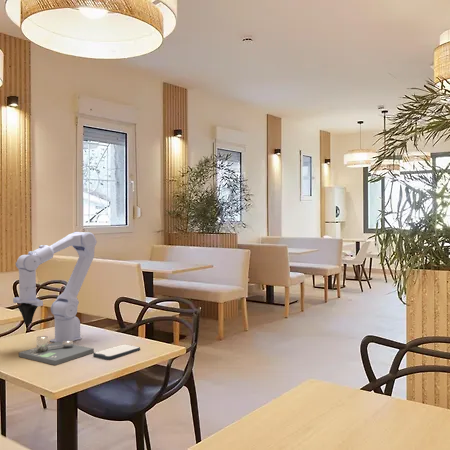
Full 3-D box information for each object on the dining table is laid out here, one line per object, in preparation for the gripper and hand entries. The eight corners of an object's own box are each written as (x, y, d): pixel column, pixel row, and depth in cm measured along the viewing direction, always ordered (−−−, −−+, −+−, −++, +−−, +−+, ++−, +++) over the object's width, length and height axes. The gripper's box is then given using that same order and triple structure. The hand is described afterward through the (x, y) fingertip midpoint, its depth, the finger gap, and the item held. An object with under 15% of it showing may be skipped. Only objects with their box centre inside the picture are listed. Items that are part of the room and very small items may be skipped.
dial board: (58, 345, 186) (58, 341, 186) (93, 352, 176) (93, 348, 176) (18, 356, 171) (18, 352, 171) (55, 365, 161) (55, 360, 161)
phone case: (124, 347, 185) (91, 357, 171) (124, 343, 185) (91, 352, 171) (141, 351, 180) (109, 361, 166) (141, 347, 180) (109, 357, 166)
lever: (71, 344, 180) (71, 331, 180) (74, 346, 177) (74, 333, 177) (29, 350, 172) (29, 337, 172) (32, 353, 169) (32, 339, 169)
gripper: (5, 287, 181) (6, 323, 181) (30, 290, 173) (31, 328, 173) (22, 284, 187) (22, 320, 187) (47, 287, 179) (47, 324, 179)
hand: (28, 323), depth 181 cm, fingers closed
